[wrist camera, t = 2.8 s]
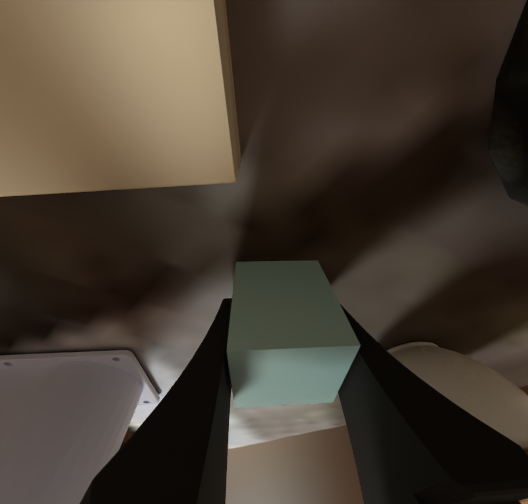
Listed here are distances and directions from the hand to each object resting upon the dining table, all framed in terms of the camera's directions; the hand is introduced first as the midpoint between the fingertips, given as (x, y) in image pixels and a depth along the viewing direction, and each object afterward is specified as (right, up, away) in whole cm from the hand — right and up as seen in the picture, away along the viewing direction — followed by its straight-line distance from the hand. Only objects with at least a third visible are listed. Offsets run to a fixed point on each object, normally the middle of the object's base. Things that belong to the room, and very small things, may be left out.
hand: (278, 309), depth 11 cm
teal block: (0, +1, +1) cm, 1 cm away
